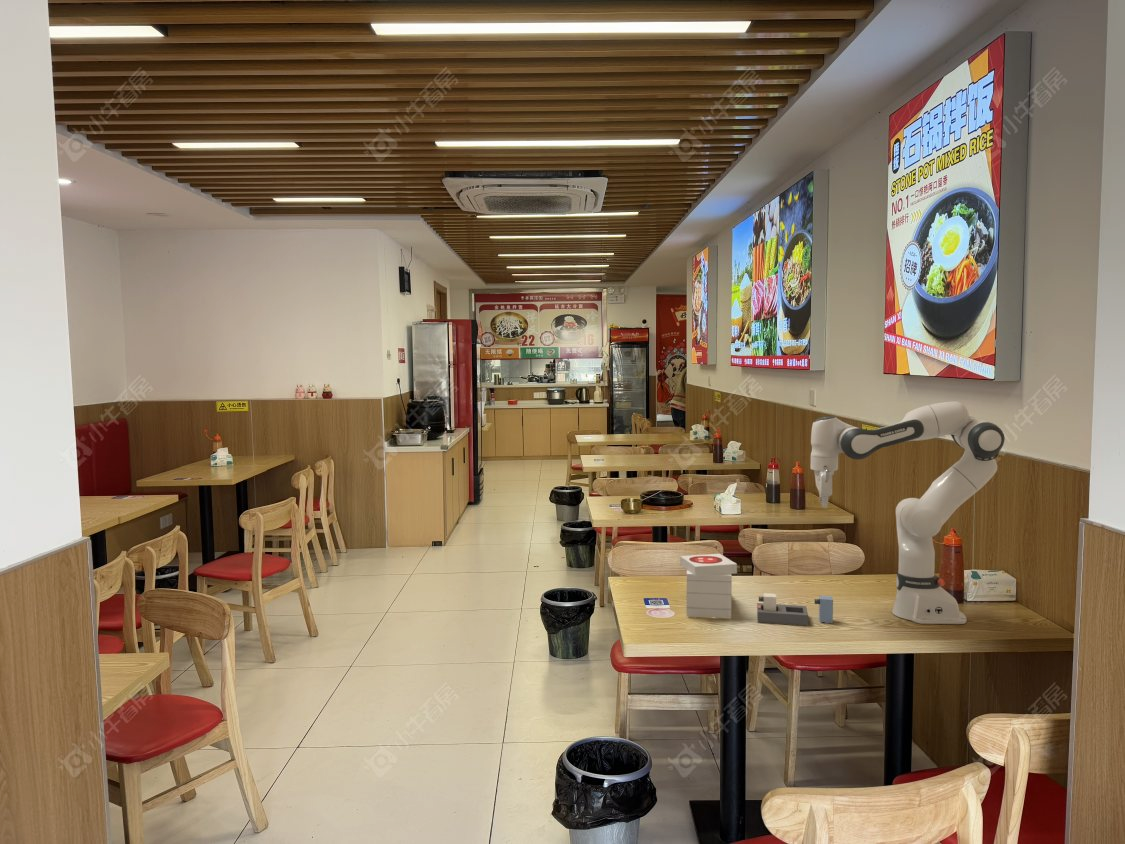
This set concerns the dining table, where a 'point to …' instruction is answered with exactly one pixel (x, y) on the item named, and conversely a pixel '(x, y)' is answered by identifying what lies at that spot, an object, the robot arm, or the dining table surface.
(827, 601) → the blue plug
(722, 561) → the stack of pizza boxes
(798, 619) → the grey socket tray
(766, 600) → the white plug
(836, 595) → the dining table surface
